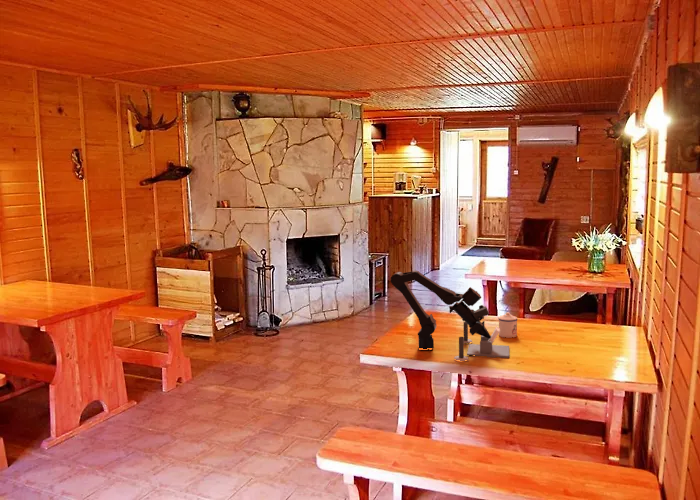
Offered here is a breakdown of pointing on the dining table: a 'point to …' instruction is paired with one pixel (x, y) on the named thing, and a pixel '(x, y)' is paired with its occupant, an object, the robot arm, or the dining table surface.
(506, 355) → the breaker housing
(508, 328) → the teacup with lid
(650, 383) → the dining table surface
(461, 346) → the post
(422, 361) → the dining table surface
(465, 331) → the post
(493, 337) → the block
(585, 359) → the dining table surface
